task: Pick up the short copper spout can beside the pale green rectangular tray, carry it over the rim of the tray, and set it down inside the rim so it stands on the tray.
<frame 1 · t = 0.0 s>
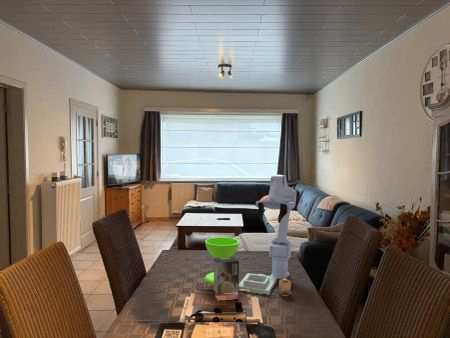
hand: (269, 220, 147), 32 cm above the table, tool tilted 50°, fingers open, 7 cm apart
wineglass: (221, 279, 170), on the table
coffee box: (225, 298, 148), on the table
pale green rectangular tray: (257, 285, 162), on the table
spout can: (284, 294, 153), on the table
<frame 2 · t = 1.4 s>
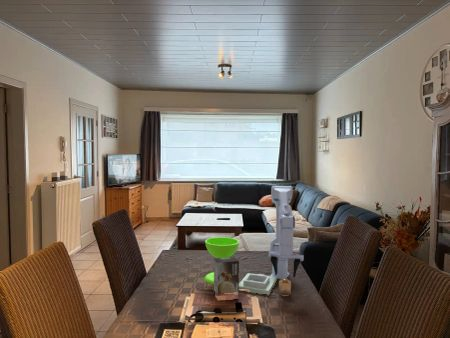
hand: (285, 275, 153), 8 cm above the table, tool pointing down, fingers open, 7 cm apart
nothing on the table moved.
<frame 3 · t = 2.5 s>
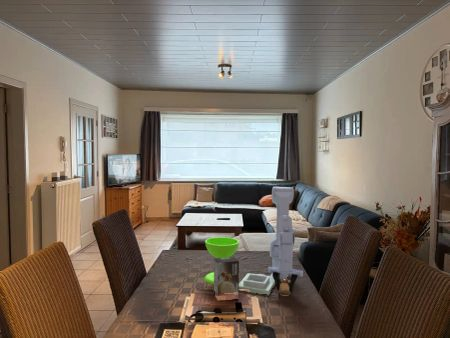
hand: (284, 290, 153), 1 cm above the table, tool pointing down, fingers closed on spout can, 5 cm apart
spout can: (284, 294, 153), on the table, touching gripper
everything else where it was.
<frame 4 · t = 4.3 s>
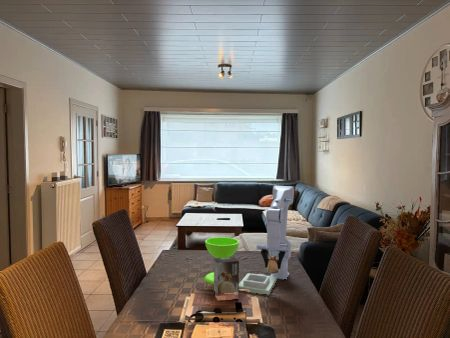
hand: (272, 267, 156), 10 cm above the table, tool pointing down, fingers closed on spout can, 5 cm apart
spout can: (272, 271, 156), point 9 cm above the table, touching gripper
everything else where it was.
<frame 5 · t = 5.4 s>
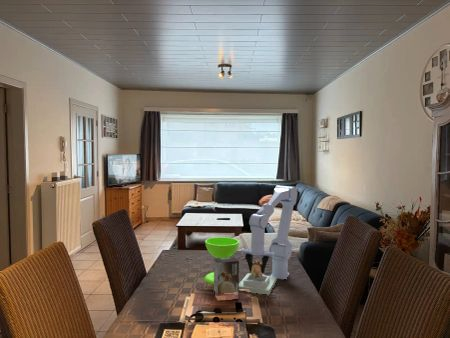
hand: (256, 271, 160), 7 cm above the table, tool pointing down, fingers closed on spout can, 5 cm apart
spout can: (256, 275, 160), point 5 cm above the table, touching gripper
everything else where it was.
when the fingers open (5 cm above the table, at t = 6.3 s): spout can drops 1 cm, resting on pale green rectangular tray.
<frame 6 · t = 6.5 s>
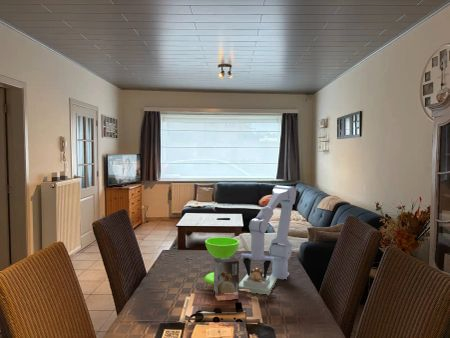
hand: (256, 276, 160), 5 cm above the table, tool pointing down, fingers open, 7 cm apart
spout can: (256, 282, 160), point 2 cm above the table, touching pale green rectangular tray
everything else where it was.
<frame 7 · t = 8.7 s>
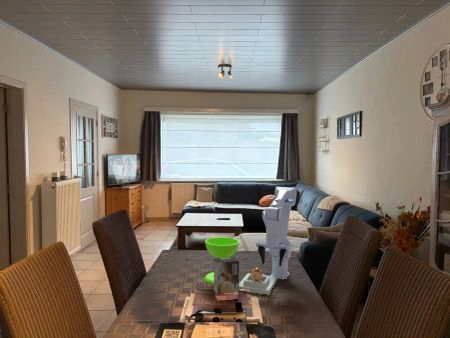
hand: (271, 264, 160), 10 cm above the table, tool pointing down, fingers open, 7 cm apart
nothing on the table moved.
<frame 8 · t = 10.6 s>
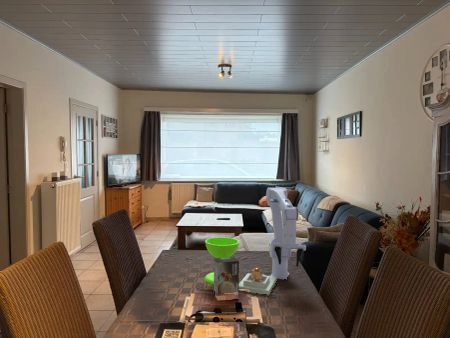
hand: (288, 264, 160), 10 cm above the table, tool pointing down, fingers open, 7 cm apart
nothing on the table moved.
at the end: spout can 0.3 cm from the target spot on the pale green rectangular tray, point 2.1 cm above the pale green rectangular tray's base; spout can tilted 0°; the gripper is holding nothing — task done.
